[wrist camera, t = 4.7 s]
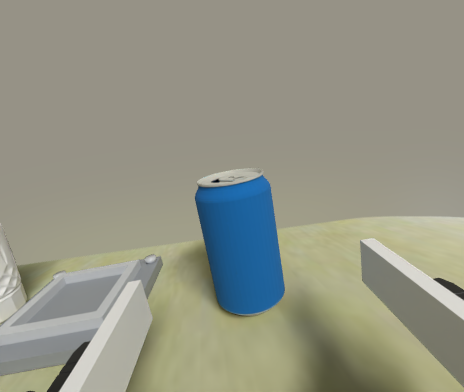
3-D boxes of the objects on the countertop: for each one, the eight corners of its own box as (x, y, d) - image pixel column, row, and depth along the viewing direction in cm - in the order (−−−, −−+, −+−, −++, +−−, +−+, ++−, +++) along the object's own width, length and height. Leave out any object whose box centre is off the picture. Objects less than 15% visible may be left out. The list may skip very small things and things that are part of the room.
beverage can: (246, 271, 28) (228, 168, 25) (298, 288, 24) (283, 165, 21) (204, 305, 24) (176, 185, 21) (258, 334, 19) (231, 186, 16)
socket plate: (-48, 384, 20) (-61, 362, 19) (61, 282, 33) (55, 268, 33) (123, 353, 20) (115, 330, 19) (162, 264, 33) (158, 249, 33)
